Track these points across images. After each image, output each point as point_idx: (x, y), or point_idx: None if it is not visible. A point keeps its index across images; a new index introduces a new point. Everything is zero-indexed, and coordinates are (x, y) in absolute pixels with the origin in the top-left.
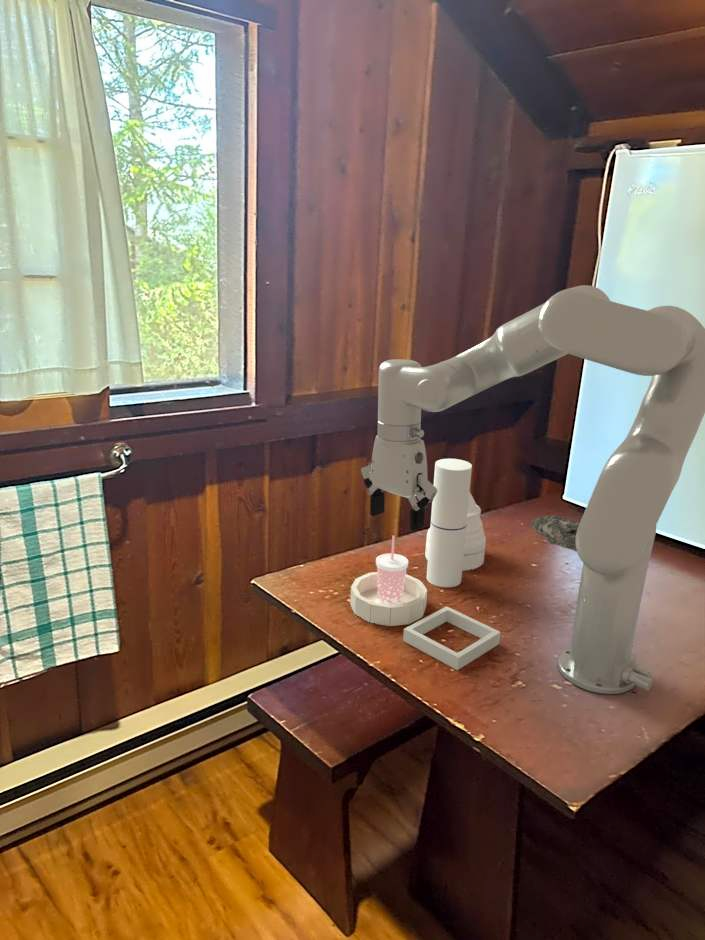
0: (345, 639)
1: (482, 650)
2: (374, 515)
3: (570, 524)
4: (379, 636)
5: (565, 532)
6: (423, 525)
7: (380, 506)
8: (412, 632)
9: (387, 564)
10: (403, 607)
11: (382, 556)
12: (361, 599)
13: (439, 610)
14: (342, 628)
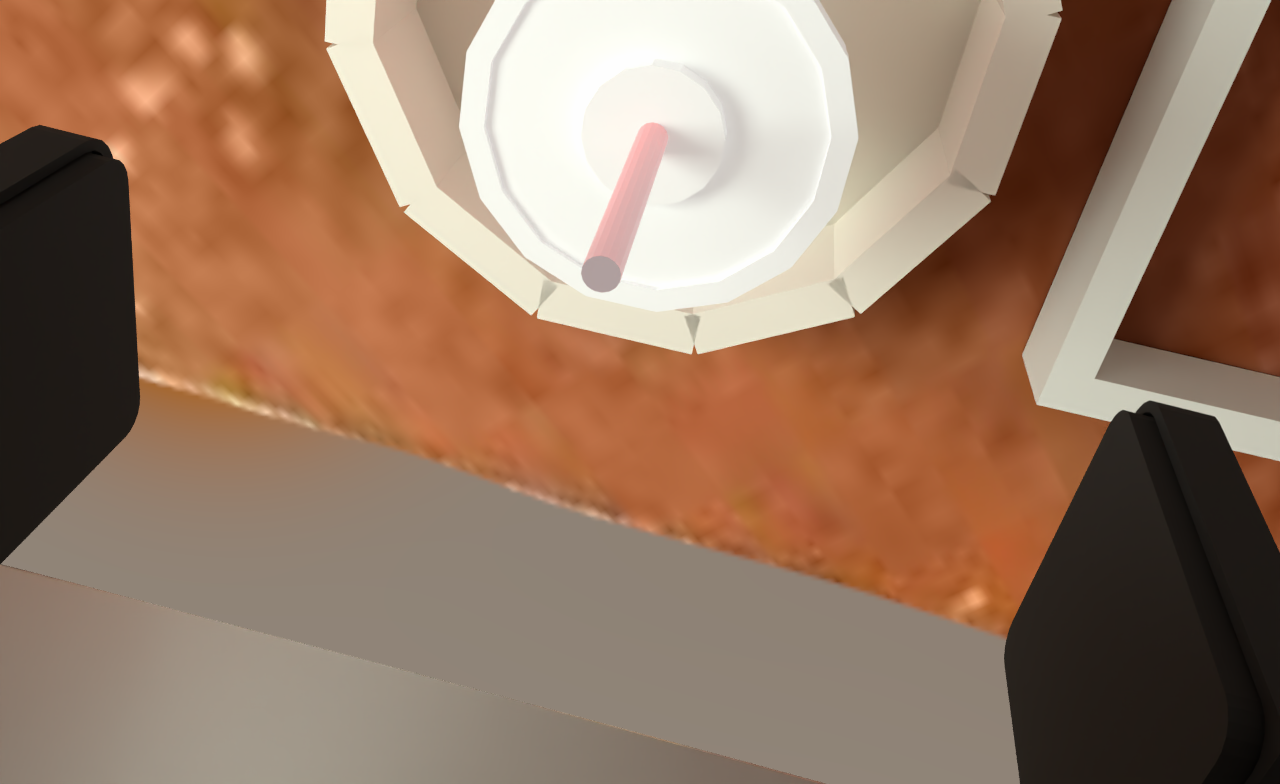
0: (689, 511)
1: None
2: (134, 399)
3: None
4: (853, 386)
5: None
6: (1210, 427)
7: (40, 331)
8: (1114, 412)
9: (660, 238)
10: (942, 238)
11: (495, 86)
12: (593, 329)
13: None
14: (601, 426)
